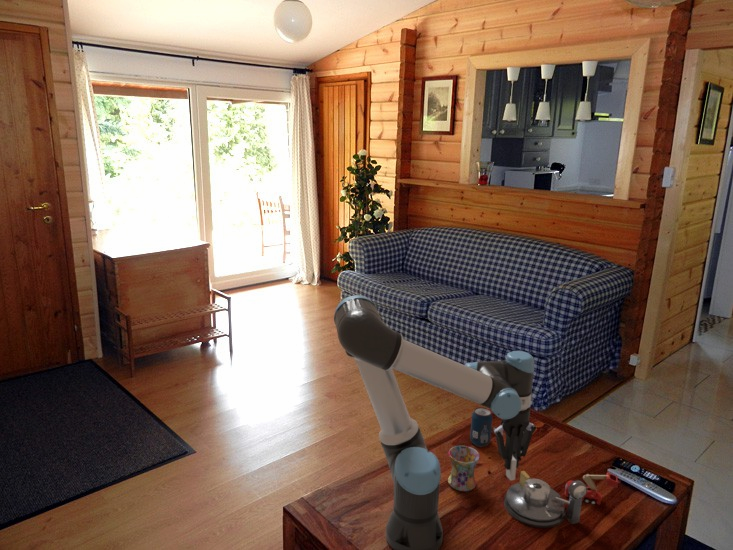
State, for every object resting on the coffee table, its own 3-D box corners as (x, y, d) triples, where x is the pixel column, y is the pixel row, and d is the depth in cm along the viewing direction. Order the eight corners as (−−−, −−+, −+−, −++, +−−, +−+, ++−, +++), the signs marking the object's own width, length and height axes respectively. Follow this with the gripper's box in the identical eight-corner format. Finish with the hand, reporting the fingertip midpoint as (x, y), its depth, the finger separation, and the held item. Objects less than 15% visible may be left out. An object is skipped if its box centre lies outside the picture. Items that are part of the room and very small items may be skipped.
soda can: (477, 434, 198) (480, 404, 195) (494, 442, 193) (497, 411, 190) (465, 441, 193) (468, 410, 190) (482, 450, 188) (484, 418, 185)
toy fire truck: (564, 491, 168) (568, 463, 166) (613, 503, 163) (618, 474, 161) (563, 497, 165) (567, 469, 163) (613, 510, 160) (618, 481, 158)
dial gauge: (563, 526, 153) (568, 486, 150) (552, 513, 158) (557, 475, 155) (582, 522, 155) (588, 483, 152) (571, 510, 160) (577, 472, 156)
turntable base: (523, 532, 151) (523, 528, 150) (493, 493, 166) (494, 489, 166) (577, 522, 155) (578, 518, 155) (543, 485, 171) (544, 481, 170)
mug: (481, 492, 167) (484, 461, 164) (452, 495, 165) (454, 464, 162) (467, 469, 178) (470, 439, 175) (440, 471, 176) (442, 441, 174)
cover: (530, 509, 156) (532, 495, 154) (518, 493, 162) (520, 479, 161) (553, 505, 157) (555, 492, 156) (540, 490, 164) (542, 477, 163)
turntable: (524, 526, 151) (526, 509, 149) (496, 490, 166) (498, 474, 164) (575, 517, 155) (578, 500, 153) (543, 482, 170) (545, 467, 168)
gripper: (502, 414, 152) (496, 488, 158) (544, 408, 155) (537, 481, 161) (489, 401, 159) (484, 473, 165) (530, 396, 162) (523, 466, 168)
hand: (510, 477), depth 163 cm, fingers closed
